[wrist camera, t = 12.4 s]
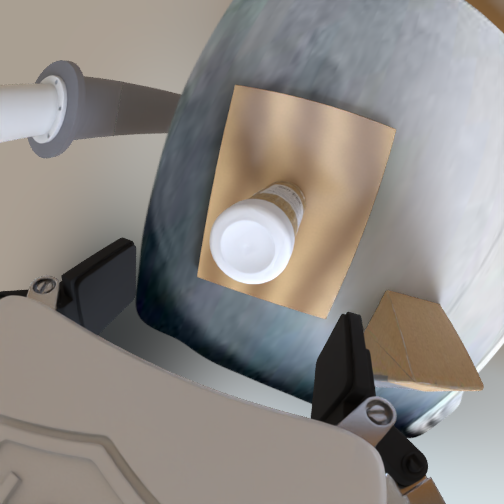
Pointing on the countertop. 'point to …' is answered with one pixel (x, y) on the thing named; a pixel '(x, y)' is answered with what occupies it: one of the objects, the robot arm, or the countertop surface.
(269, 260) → the sprinkles bottle
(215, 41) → the countertop surface
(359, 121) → the chopping board
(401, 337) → the sandwich container
